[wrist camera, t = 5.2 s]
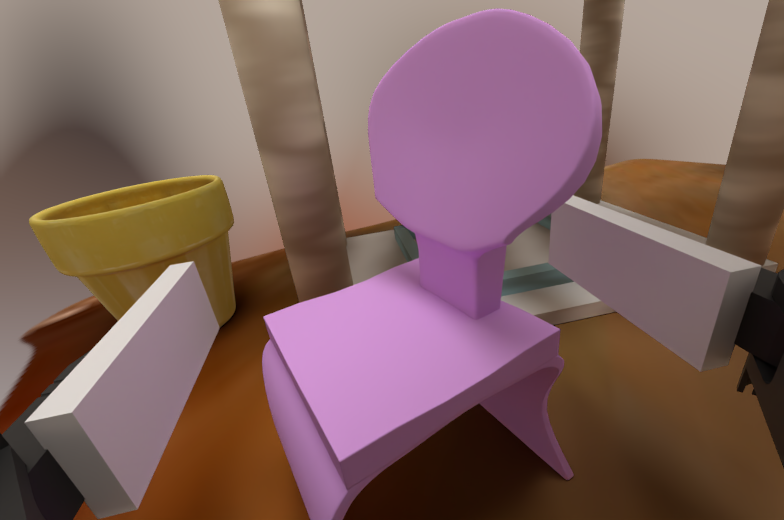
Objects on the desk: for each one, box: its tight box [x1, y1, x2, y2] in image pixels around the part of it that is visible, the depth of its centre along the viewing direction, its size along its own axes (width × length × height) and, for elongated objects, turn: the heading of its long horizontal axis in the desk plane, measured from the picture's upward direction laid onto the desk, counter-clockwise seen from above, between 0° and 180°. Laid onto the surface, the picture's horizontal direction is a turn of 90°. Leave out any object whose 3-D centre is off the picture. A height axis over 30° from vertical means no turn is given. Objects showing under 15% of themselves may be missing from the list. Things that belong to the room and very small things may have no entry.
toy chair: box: [262, 9, 602, 520], centre depth 11 cm, size 8×9×15 cm
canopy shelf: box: [219, 0, 784, 325], centre depth 24 cm, size 29×18×25 cm, turn 100°
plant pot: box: [29, 175, 236, 327], centre depth 25 cm, size 10×10×10 cm
